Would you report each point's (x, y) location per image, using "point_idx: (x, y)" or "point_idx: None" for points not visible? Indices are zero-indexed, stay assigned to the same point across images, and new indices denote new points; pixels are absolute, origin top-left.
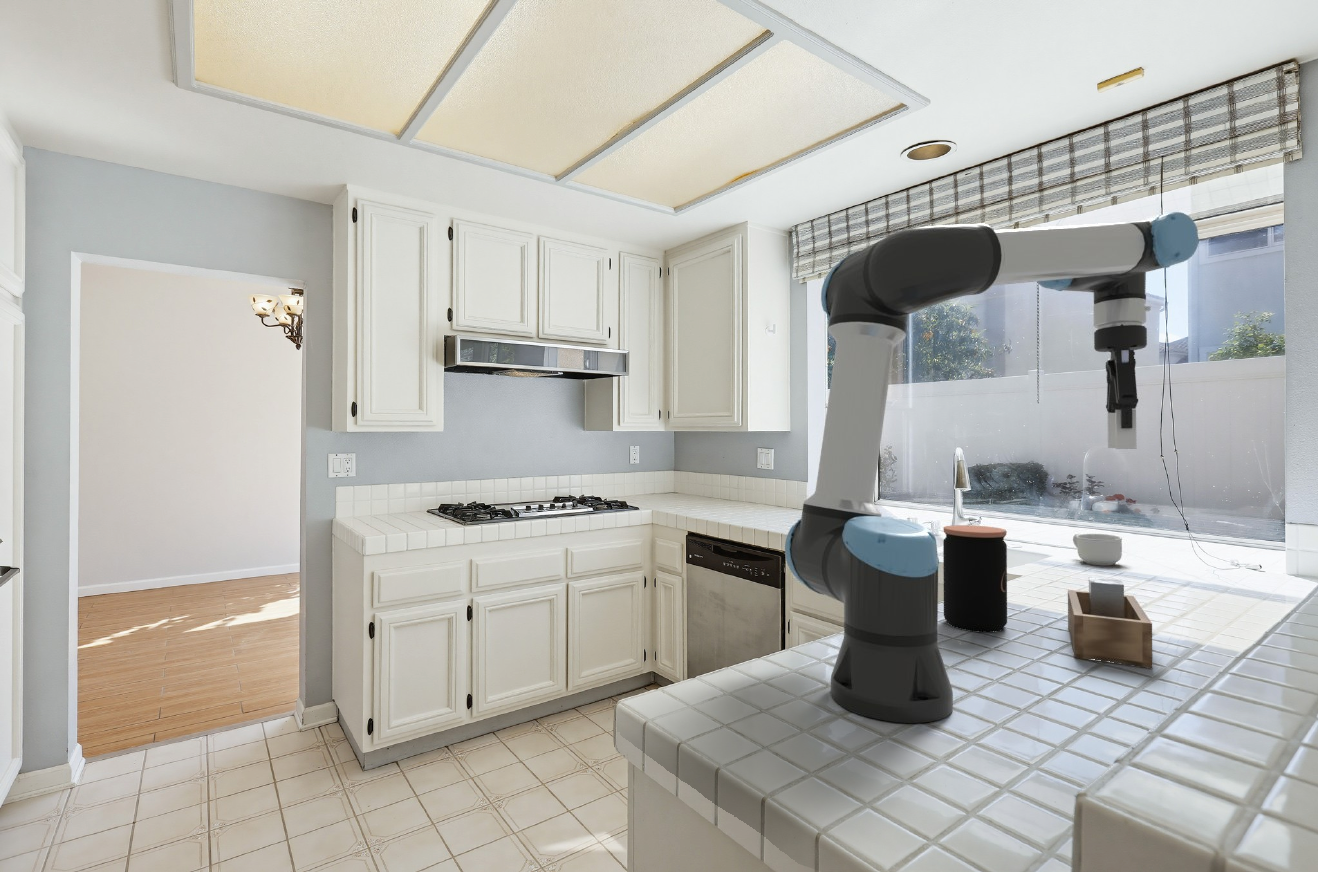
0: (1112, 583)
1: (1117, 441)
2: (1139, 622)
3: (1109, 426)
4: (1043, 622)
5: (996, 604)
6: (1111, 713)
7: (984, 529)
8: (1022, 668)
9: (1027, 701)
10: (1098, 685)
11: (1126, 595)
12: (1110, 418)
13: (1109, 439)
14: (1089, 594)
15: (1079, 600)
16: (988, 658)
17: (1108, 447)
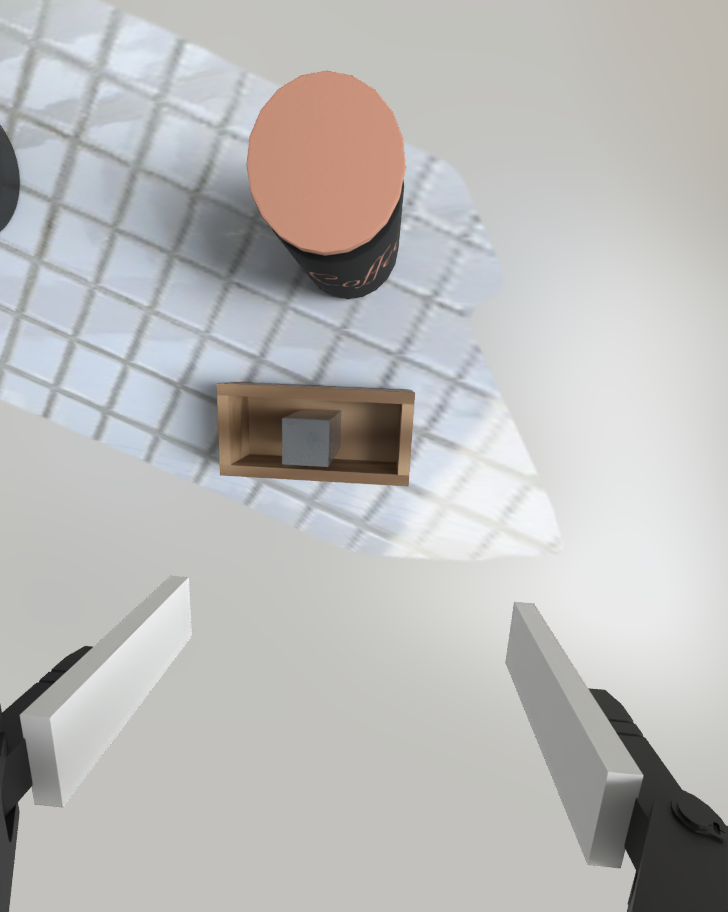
0: (286, 449)
1: (151, 596)
2: (219, 461)
3: (557, 690)
4: (421, 356)
5: (307, 273)
6: (64, 396)
7: (318, 194)
8: (160, 318)
9: (47, 319)
10: (145, 396)
11: (406, 476)
12: (580, 742)
13: (528, 634)
14: (320, 416)
15: (401, 408)
16: (179, 276)
17: (516, 605)
